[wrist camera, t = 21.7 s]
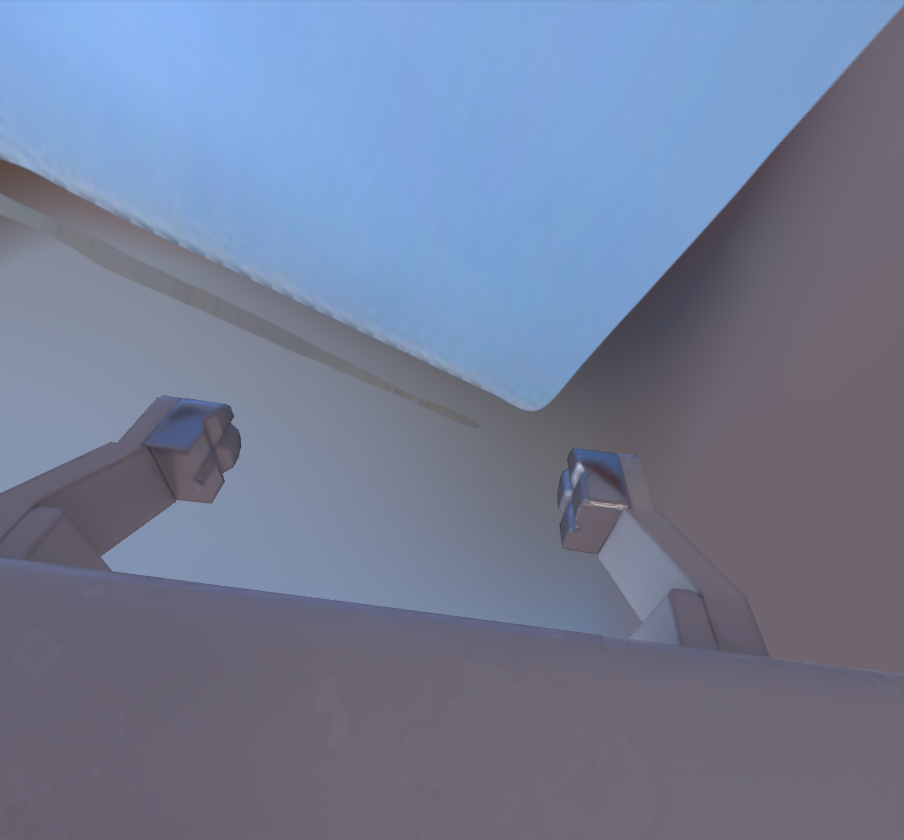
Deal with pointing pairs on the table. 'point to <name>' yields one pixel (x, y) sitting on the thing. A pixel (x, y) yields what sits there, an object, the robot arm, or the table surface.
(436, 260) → the table surface
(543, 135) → the table surface
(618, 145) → the table surface
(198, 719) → the robot arm
